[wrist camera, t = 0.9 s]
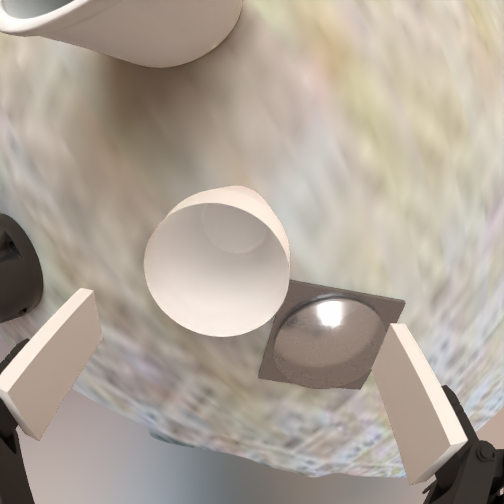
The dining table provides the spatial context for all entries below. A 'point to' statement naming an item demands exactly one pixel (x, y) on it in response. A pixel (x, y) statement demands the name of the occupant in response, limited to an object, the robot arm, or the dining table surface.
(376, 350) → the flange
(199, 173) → the dining table surface
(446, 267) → the dining table surface
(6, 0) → the utensil holder
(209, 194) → the cup
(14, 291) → the robot arm
